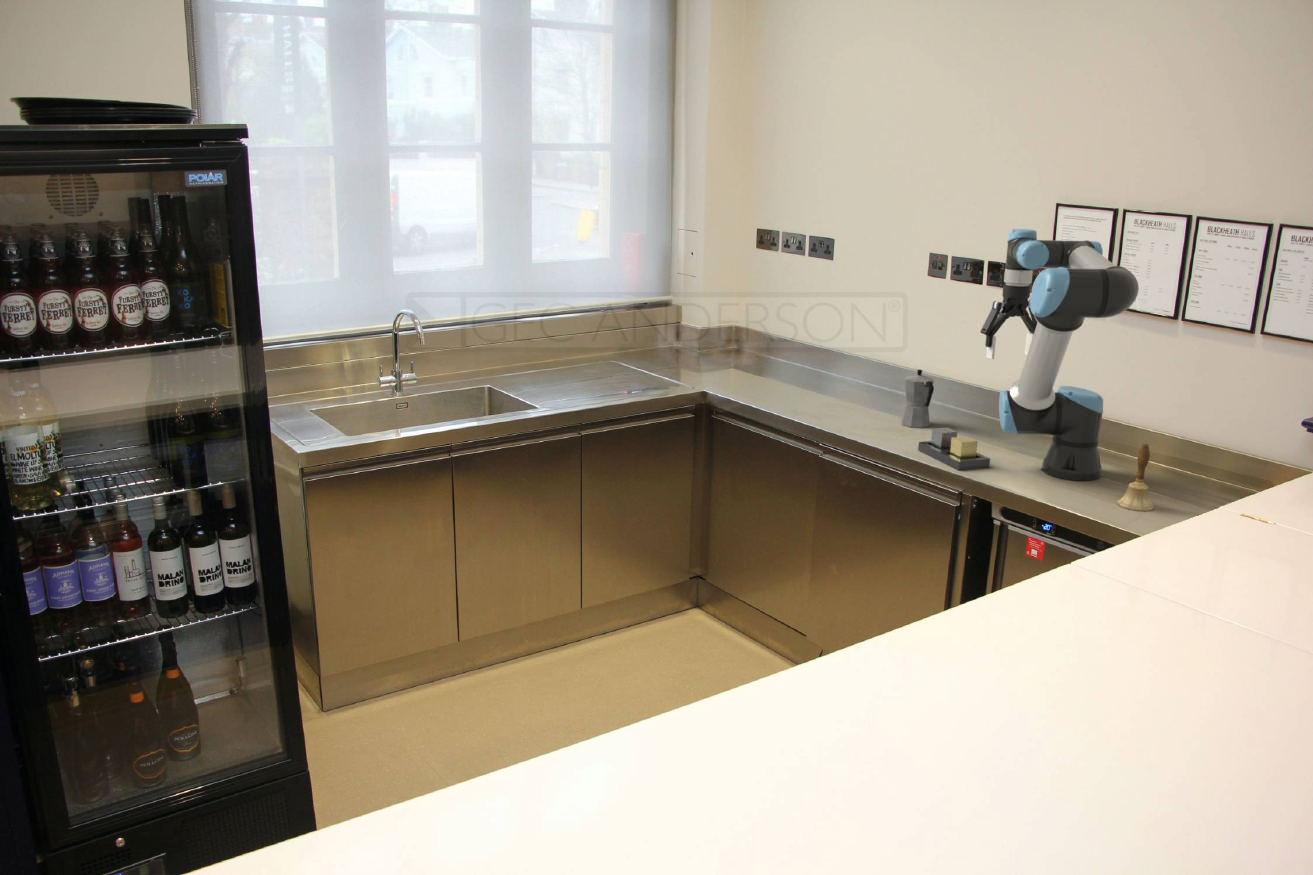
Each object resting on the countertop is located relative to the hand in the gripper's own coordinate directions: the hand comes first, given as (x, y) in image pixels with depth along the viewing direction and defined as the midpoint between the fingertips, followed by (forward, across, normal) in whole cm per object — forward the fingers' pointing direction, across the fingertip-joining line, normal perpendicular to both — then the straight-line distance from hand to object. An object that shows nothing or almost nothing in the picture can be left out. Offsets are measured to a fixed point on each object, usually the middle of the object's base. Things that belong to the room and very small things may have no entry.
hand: (1009, 356), depth 297 cm
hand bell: (+26, +3, +56) cm, 62 cm away
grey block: (+26, +24, +5) cm, 35 cm away
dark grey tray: (+26, +24, +10) cm, 37 cm away
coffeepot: (+27, +12, -26) cm, 39 cm away
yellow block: (+26, +24, +15) cm, 38 cm away
